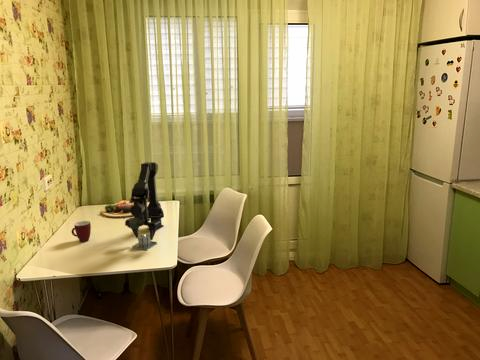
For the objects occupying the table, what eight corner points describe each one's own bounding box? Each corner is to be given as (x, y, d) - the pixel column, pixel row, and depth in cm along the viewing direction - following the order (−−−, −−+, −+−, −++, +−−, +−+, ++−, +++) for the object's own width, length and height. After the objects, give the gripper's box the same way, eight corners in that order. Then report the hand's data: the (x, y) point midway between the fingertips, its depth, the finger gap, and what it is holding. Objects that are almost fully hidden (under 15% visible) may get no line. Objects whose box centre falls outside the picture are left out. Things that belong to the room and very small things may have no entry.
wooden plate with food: (125, 202, 288) (123, 191, 286) (160, 206, 273) (158, 195, 271) (91, 216, 260) (89, 204, 258) (127, 221, 246) (126, 209, 244)
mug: (69, 244, 210) (67, 226, 208) (75, 238, 218) (73, 221, 216) (89, 243, 210) (87, 225, 208) (94, 237, 218) (92, 220, 216)
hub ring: (143, 241, 209) (142, 233, 208) (152, 242, 206) (152, 234, 205) (136, 245, 203) (135, 237, 202) (145, 246, 201) (145, 238, 200)
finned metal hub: (143, 241, 211) (142, 231, 209) (157, 243, 207) (156, 233, 206) (132, 247, 203) (131, 236, 201) (146, 250, 199) (145, 239, 198)
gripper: (116, 213, 197) (119, 242, 201) (147, 216, 190) (149, 247, 193) (130, 206, 207) (133, 234, 211) (160, 210, 200) (162, 239, 203)
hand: (144, 239), depth 204 cm, fingers open, 9 cm apart
